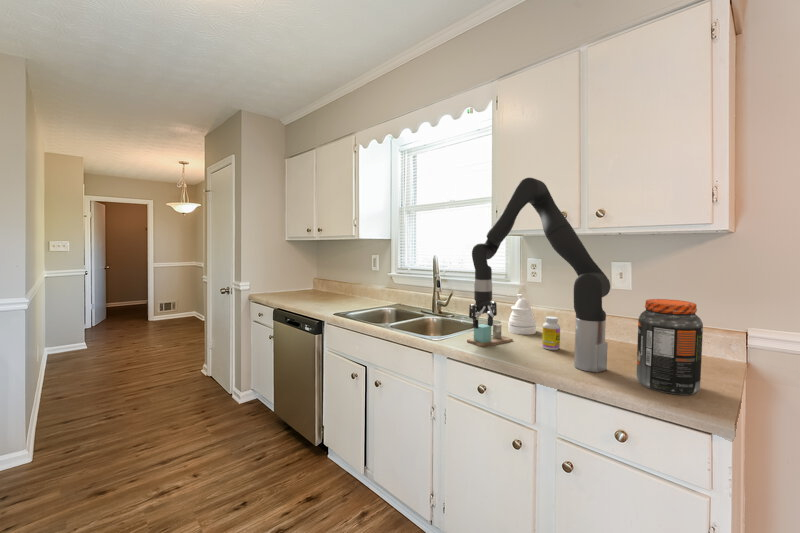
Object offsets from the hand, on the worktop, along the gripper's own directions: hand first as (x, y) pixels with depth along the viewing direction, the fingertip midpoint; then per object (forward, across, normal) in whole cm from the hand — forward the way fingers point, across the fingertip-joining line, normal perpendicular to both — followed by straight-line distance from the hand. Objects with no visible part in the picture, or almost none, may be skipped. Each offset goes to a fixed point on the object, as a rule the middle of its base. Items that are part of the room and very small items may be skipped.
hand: (483, 327), depth 159 cm
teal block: (+6, 0, 0) cm, 6 cm away
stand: (+7, +4, 0) cm, 8 cm away
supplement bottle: (+8, +18, -21) cm, 28 cm away
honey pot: (+7, +32, +5) cm, 33 cm away
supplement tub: (+8, +12, -65) cm, 66 cm away
